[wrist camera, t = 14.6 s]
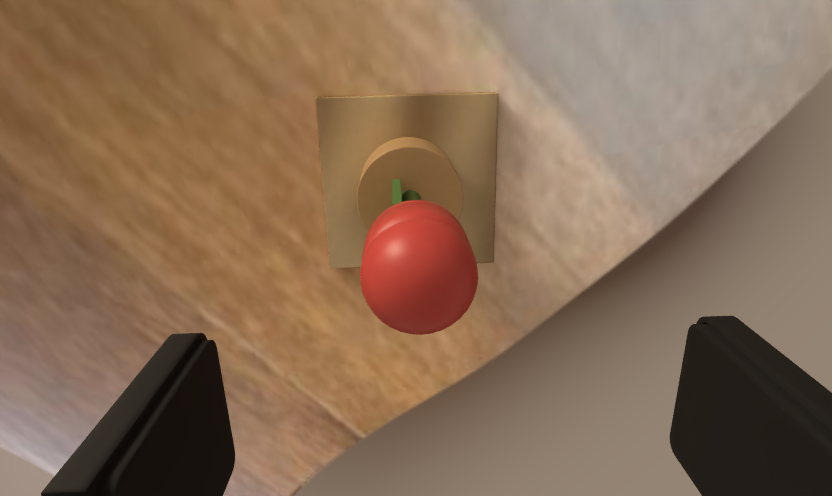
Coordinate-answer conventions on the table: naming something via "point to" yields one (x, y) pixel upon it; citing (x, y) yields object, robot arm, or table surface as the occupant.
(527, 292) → the table surface
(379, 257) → the tulip
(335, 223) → the coaster
